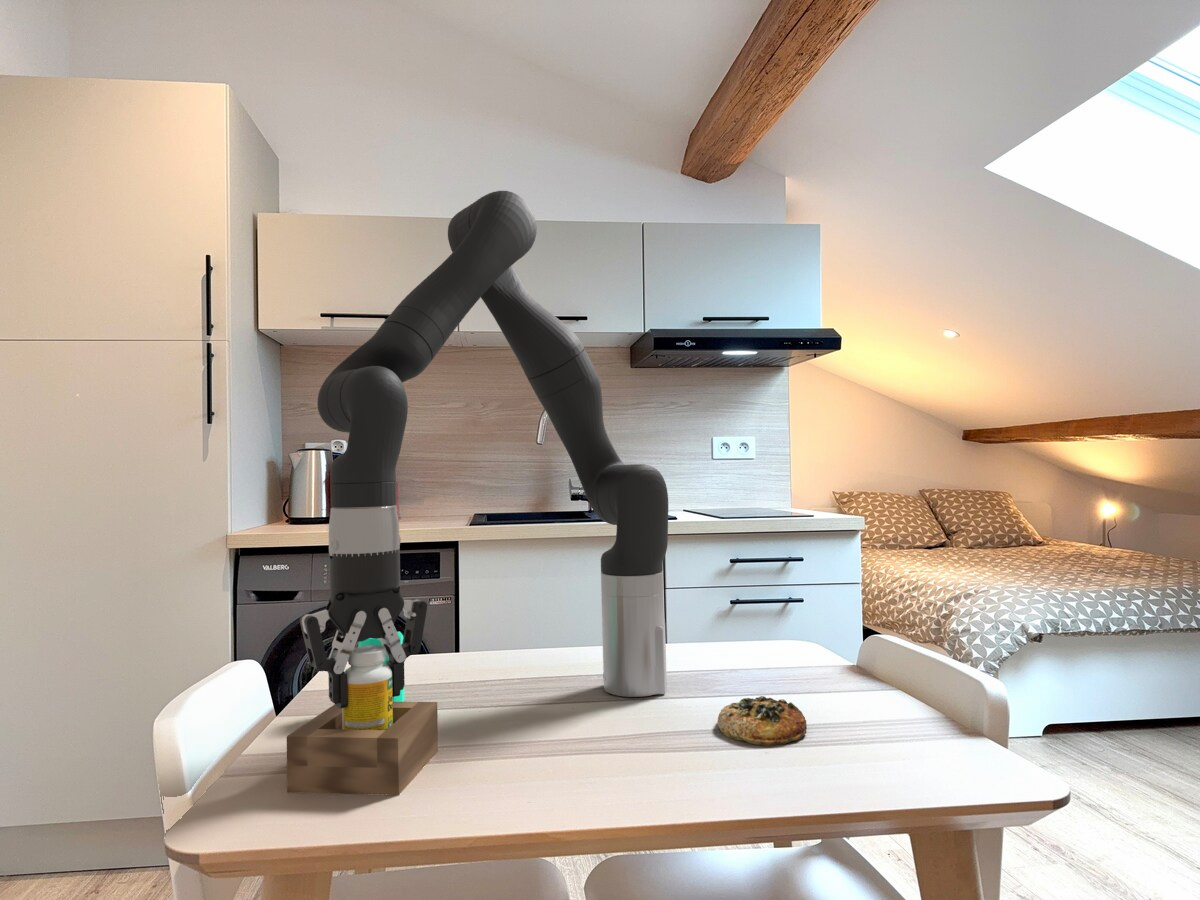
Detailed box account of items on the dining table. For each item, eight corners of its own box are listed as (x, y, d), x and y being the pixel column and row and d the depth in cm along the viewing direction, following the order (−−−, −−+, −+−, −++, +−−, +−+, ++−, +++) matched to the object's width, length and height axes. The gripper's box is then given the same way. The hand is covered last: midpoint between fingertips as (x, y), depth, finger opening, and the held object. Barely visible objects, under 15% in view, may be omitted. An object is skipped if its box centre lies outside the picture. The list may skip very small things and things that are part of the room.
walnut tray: (438, 753, 88) (437, 701, 88) (399, 798, 76) (398, 738, 76) (340, 751, 89) (340, 700, 89) (287, 795, 77) (286, 736, 77)
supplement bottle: (339, 733, 84) (338, 646, 84) (388, 725, 86) (387, 641, 86) (345, 748, 79) (344, 657, 79) (397, 739, 81) (396, 650, 82)
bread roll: (817, 722, 94) (813, 683, 94) (796, 765, 85) (791, 722, 84) (732, 714, 100) (728, 677, 99) (704, 753, 90) (699, 713, 90)
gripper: (411, 540, 91) (414, 681, 90) (287, 550, 82) (290, 706, 81) (439, 544, 85) (442, 695, 84) (308, 555, 76) (311, 724, 75)
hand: (367, 700), depth 83 cm, fingers closed on supplement bottle, 5 cm apart
